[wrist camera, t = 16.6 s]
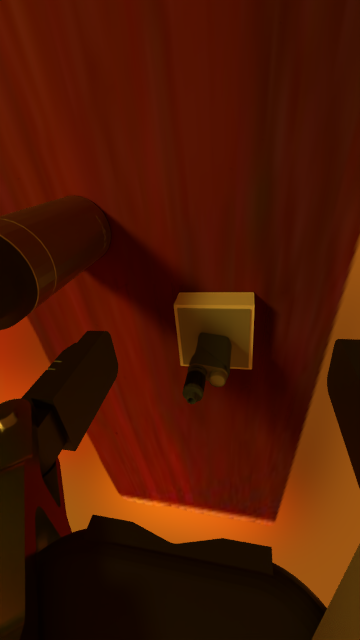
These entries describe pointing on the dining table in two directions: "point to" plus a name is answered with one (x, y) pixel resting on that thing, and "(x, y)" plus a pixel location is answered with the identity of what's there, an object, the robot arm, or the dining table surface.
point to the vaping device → (207, 365)
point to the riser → (216, 323)
